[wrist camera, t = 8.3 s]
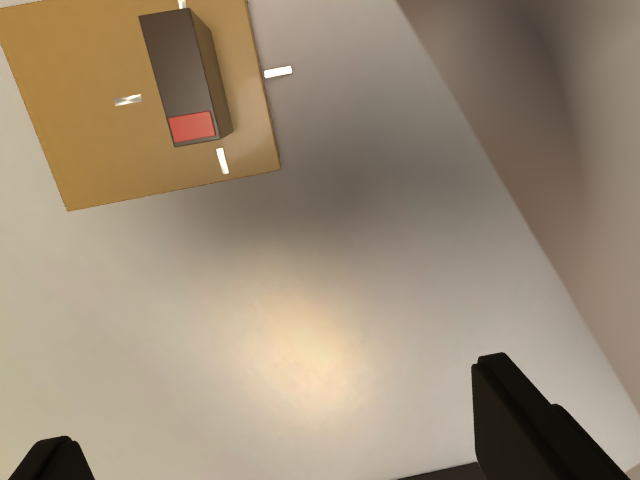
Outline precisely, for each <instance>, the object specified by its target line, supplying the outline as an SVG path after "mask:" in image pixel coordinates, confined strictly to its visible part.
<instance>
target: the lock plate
mask: <svg viewBox="0 0 640 480" xmlns="http://www.w3.org/2000/svg"><path fill="white" fill-rule="evenodd" d="M188 7H189V8H190V9H191V10H192V11H193V12H194V13H195V14H196V15H197V16H198V17H199V18H200V19H201V20H202V21H203V22H204V23H205V25H206V26H207V27H208V28H209V29H210V30H211V33H212V37H213V42H214V46H215V51H216V55H217V60H218V64H219V68H220V73H221V77H222V82H223V86H224V90H225V95H226V99H227V104H228V108H229V112H230V117H231V121H232V126H233V130H234V132H232V133H231V134H229V135H227V136H225V137H224V138H222V139H220V140H215V141H209V142H203V143H198V144H192V145H186V146H181V147H174V145H173V141H172V138H171V134H170V130H169V127H168V123H167V120H166V116H165V112H164V109H163V105H162V102H161V98H160V94H159V91H158V87H157V83H156V80H155V76H154V73H153V69H152V65H151V62H150V58H149V55H148V51H147V47H146V44H145V40H144V37H143V33H142V29H141V26H140V22H139V18H138V16H140V15H146V14H152V13H158V12H164V11H170V10H176V9H182V8H188ZM0 43H1V46H2V48H3V51H4V53H5V56H6V58H7V61H8V63H9V66H10V68H11V71H12V73H13V76H14V78H15V81H16V83H17V86H18V88H19V91H20V93H21V96H22V99H23V101H24V104H25V106H26V109H27V111H28V114H29V116H30V119H31V121H32V124H33V126H34V129H35V131H36V134H37V136H38V139H39V141H40V144H41V146H42V149H43V151H44V154H45V157H46V159H47V162H48V164H49V167H50V169H51V172H52V174H53V177H54V179H55V182H56V184H57V187H58V189H59V192H60V194H61V197H62V199H63V202H64V204H65V207H66V209H67V211H73V210H78V209H84V208H89V207H94V206H99V205H104V204H109V203H114V202H119V201H124V200H130V199H135V198H140V197H145V196H150V195H155V194H160V193H165V192H170V191H176V190H181V189H186V188H191V187H196V186H201V185H206V184H211V183H216V182H222V181H227V180H232V179H237V178H242V177H247V176H252V175H257V174H262V173H268V172H273V171H278V170H281V162H280V157H279V152H278V147H277V143H276V138H275V133H274V128H273V124H272V119H271V114H270V109H269V105H268V100H267V95H266V90H265V86H264V81H263V76H262V71H261V67H260V62H259V57H258V52H257V48H256V43H255V38H254V33H253V29H252V24H251V19H250V14H249V10H248V5H247V0H43V1H38V2H32V3H27V4H21V5H16V6H10V7H4V8H0ZM290 73H292V71H291V66H286V67H280V68H275V69H270V70H265V71H264V74H265V78H269V77H274V76H280V75H285V74H290Z"/></svg>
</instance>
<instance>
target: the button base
mask: <svg viewBox="0 0 640 480" xmlns="http://www.w3.org/2000/svg"><path fill="white" fill-rule="evenodd" d="M401 480H487V479H486V477H485V475H484V474H483V472H482V470H481V468H480V466H479V464H478V463H474V464H470V465H465V466H460V467H456V468H451V469H447V470H442V471H438V472H433V473H428V474H424V475H419V476H415V477H410V478H406V479H401Z"/></svg>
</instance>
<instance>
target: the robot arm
mask: <svg viewBox="0 0 640 480" xmlns="http://www.w3.org/2000/svg"><path fill="white" fill-rule="evenodd" d="M471 373H472V394H473V414H474V435H475V452H476V457H477V460H478V463H479V466H480V468H481V470H482V472H483V473H484V475H485V477H486V479H487V480H630V479H629V478H628V476H627V475H626V474H625V473H624V472H623V471H622V470H621V469H620V468H619V467H618V466H617V465H616V463H615V462H614V461H613V460H612V459H611V458H610V457H609V456H608V455H607V454H606V453H605V452H604V451H603V449H602V448H601V447H600V446H599V445H598V444H597V443H596V442H595V441H594V440H593V439H592V438H591V436H590V435H589V434H588V433H587V432H586V431H585V430H584V429H583V428H582V427H581V426H580V425H579V423H578V422H577V421H576V420H575V419H574V418H573V417H572V416H571V415H570V414H569V413H568V412H567V411H566V410H565V409H564V408H563V407H562V406H560V405H558V404H550V403H549V402H548V400H547V399H546V398H545V397H544V396H543V395H542V394H541V393H540V392H539V390H538V389H537V388H536V387H535V386H534V385H533V384H532V383H531V381H530V380H529V379H528V378H527V377H526V376H525V375H524V374H523V372H522V371H521V370H520V369H519V368H518V367H517V366H516V365H515V363H514V362H513V361H512V360H511V359H510V358H509V357H508V356H507V355H506V354H505V353H503V352H501V353H495V354H490V355H485V356H480V357H479V358H478V363H477V364H473V365H472V367H471ZM8 480H95V479H94V476H93V474H92V472H91V470H90V468H89V465H88V463H87V461H86V459H85V456H84V454H83V452H82V450H81V448H80V445H79V444H78V442H76V441H72V440H71V438H70V437H68V436H60V437H55V438H50V439H44V440H40V441H38V442H36V443H35V444H34V445H33V447H32V448H31V449H30V451H29V452H28V453H27V455H26V456H25V458H24V459H23V460H22V462H21V463H20V464H19V466H18V467H17V468H16V470H15V471H14V473H13V474H12V475H11V477H10V478H9V479H8Z"/></svg>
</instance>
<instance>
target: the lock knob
mask: <svg viewBox="0 0 640 480" xmlns="http://www.w3.org/2000/svg"><path fill="white" fill-rule="evenodd" d="M138 18H139V22H140V26H141V29H142V33H143V37H144V40H145V44H146V47H147V51H148V55H149V58H150V62H151V65H152V69H153V73H154V76H155V80H156V83H157V87H158V91H159V94H160V98H161V102H162V105H163V109H164V112H165V116H166V120H167V123H168V127H169V130H170V134H171V138H172V141H173V145H174V147H181V146H186V145H192V144H198V143H203V142H209V141H215V140H220V139H222V138H224V137H225V136H227V135H229V134H231V133H232V132H234V130H233V126H232V121H231V117H230V112H229V108H228V104H227V99H226V95H225V90H224V86H223V82H222V77H221V73H220V68H219V64H218V60H217V55H216V51H215V46H214V42H213V37H212V33H211V30H210V29H209V28H208V27H207V26H206V25H205V23H204V22H203V21H202V20H201V19H200V18H199V17H198V16H197V15H196V14H195V13H194V12H193V11H192V10H191V9H190V8H189V7H188V8H182V9H176V10H170V11H164V12H158V13H152V14H146V15H140V16H138Z"/></svg>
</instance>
